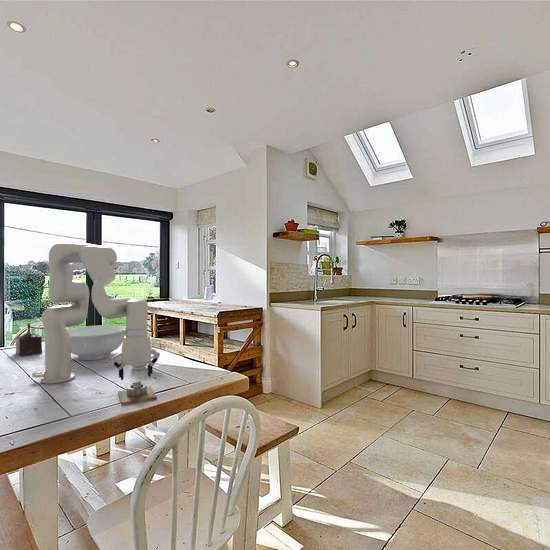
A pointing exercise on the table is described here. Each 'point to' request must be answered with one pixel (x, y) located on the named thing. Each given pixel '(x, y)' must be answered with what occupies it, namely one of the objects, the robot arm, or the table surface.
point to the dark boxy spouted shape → (29, 343)
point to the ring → (136, 390)
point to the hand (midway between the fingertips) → (135, 377)
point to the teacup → (141, 365)
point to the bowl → (95, 341)
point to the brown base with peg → (128, 400)
